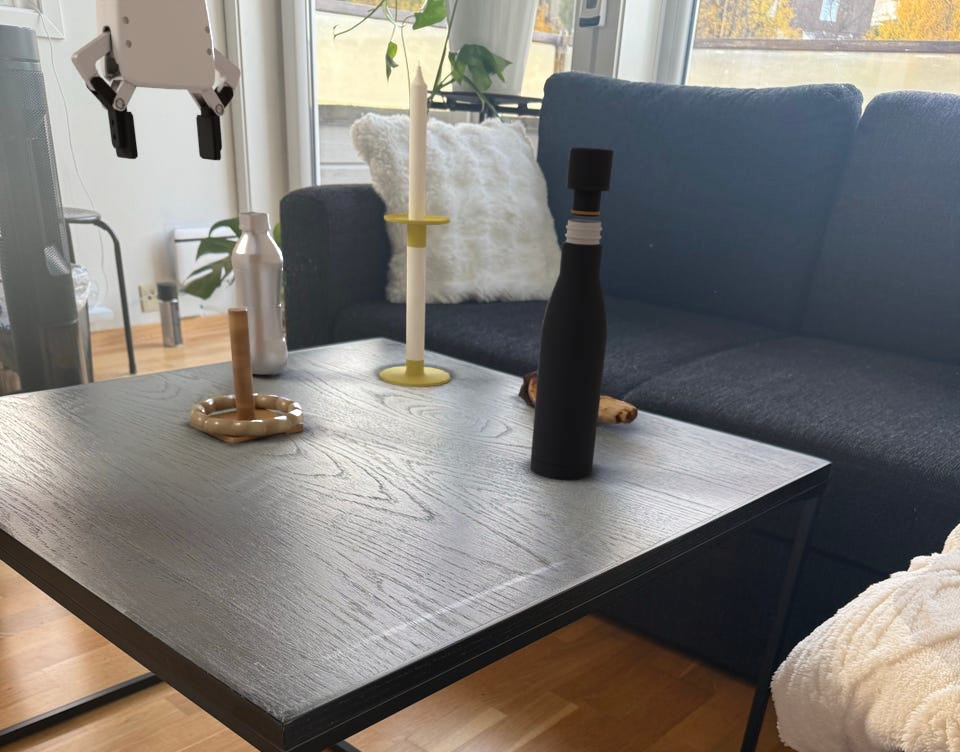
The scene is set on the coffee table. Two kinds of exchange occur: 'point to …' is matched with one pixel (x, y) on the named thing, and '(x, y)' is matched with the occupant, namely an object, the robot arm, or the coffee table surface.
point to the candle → (416, 249)
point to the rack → (243, 380)
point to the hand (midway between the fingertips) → (170, 158)
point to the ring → (249, 427)
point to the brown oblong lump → (608, 407)
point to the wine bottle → (573, 333)
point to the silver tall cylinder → (260, 292)
